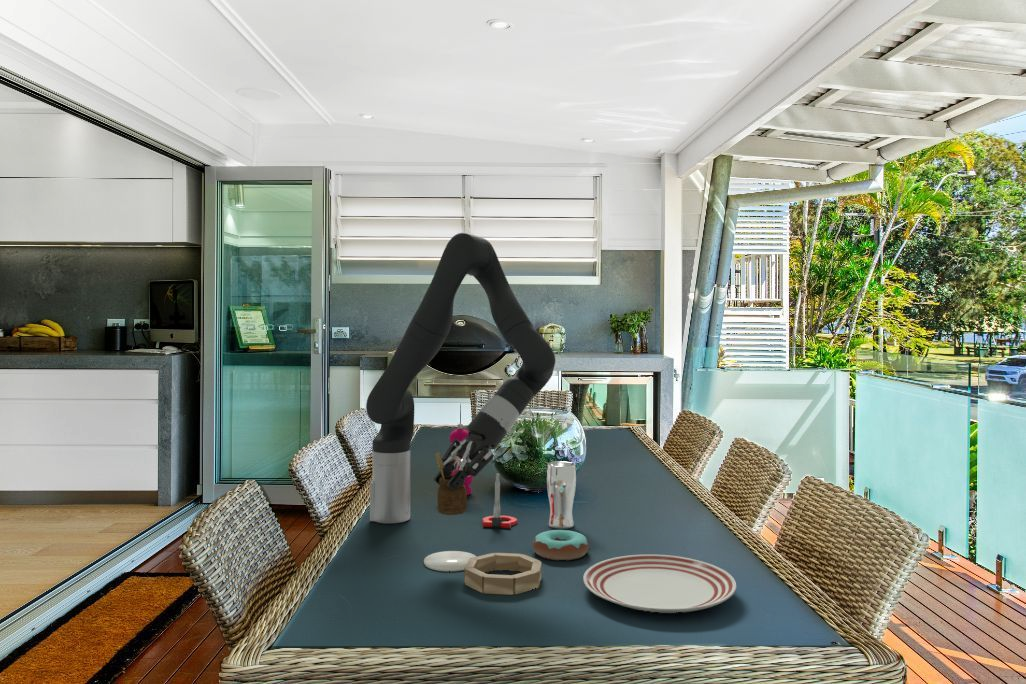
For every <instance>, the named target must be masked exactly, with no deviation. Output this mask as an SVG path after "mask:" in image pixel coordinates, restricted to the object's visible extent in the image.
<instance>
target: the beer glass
mask: <svg viewBox="0 0 1026 684" xmlns="http://www.w3.org/2000/svg"><path fill="white" fill-rule="evenodd" d="M546 473H547V474H546V489H547V496H548V501H549V509H550V511H549V512H550V514H549V520H548V527H550V528H553V529H556V530H568V529H572V528H573V527H574V526H575V522H574V518H573V505H574V500H575V494H576V487H577V486H576V484H577V475H576V474H577V473H576V463H575V462H572V461H566V460H564V461H561V460H557V461H556V460H555V461H550V462H548V463H547V472H546Z"/></svg>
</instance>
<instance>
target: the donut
mask: <svg viewBox="0 0 1026 684" xmlns="http://www.w3.org/2000/svg"><path fill="white" fill-rule="evenodd" d="M534 537H535V538H534V539H533V542H532V548H533V551H534V552H535V554H537V555H538V556H539V557H541V558H542V559H543V558H544V559H546V558H547V559H546V560H550V559H551V560H552V561H559V560H566V561H574V560H578V559H580V558H582V557H584V556H585V555H586V554H587V553H588V550H589V547H590V545H589V541H588V539H587V537H586V536H585V535H583V534H582V533H579V532H577V531H573V530H568V529H553V530H547V531H543V532H540V533H538V534H537V535H535V536H534ZM573 559H574V560H573ZM551 560H550V561H551Z"/></svg>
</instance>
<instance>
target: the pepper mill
mask: <svg viewBox="0 0 1026 684" xmlns="http://www.w3.org/2000/svg"><path fill="white" fill-rule="evenodd" d="M468 434H469V433H468V430H467V429H464V424H463V423H457V426H456V429H454V430H452V431H451V432H450V433H449V442H450V444H451V443H452V442H453V440H454V439H457V440H458V441H462V440H463V439H464V438H466V437H467V436H468ZM458 457H459V456H458ZM459 458H460V457H459ZM460 459H461V458H460ZM455 463H456V461H455V462H454V464H455ZM454 464H453V465H454ZM466 466H467V465H466ZM459 468H460V466H458V468H456V469H455V470H454V471H453V472H452V474H451V475H454V474H455V473H456V471H457V470H458V471H460V470H459ZM464 480H465V483H464V486H465V487H466V494H467V495H468V496H470V495H471V494H472V487H471V486H470V485H471V484H472V482H473V480H474V477H473V476H472V475H470V476H469V477H468V478H467V477H466V478H465V479H464ZM469 494H470V495H469Z"/></svg>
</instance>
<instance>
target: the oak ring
mask: <svg viewBox="0 0 1026 684" xmlns="http://www.w3.org/2000/svg"><path fill="white" fill-rule="evenodd" d="M542 567H543V566H542V560H539V559H537V558H533V557H531V556H529V555H527V554H522V553H512V552H511V553H510V552H509V553H508V552H491V553H487V554H482V555H479V556H477V557H473V558H471V559H469V560H468V562H467V564H466V566H465V568H464V570H463V571H464V573H463V576H464V583H465V584H464V586H467V587H468V588H471V589H473V590H475V591H477V592H479V593H481V594H489V595H490V594H492V595H511V596H512V595H518V594H522V593H526V592H528V591H532V589H533V590H536V589H539V588H540V586H541V582H540V581H542V575H543V574H542V570H543V569H542ZM493 570H494V571H503V570H509V571H508V572H518V573H516V574H512V575H511V574H510V575H509V574H490V573H489V571H491V572H493ZM519 571H520V572H519ZM485 572H487V573H485ZM521 572H522V573H521ZM488 573H489V574H488ZM535 588H536V589H535Z"/></svg>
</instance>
